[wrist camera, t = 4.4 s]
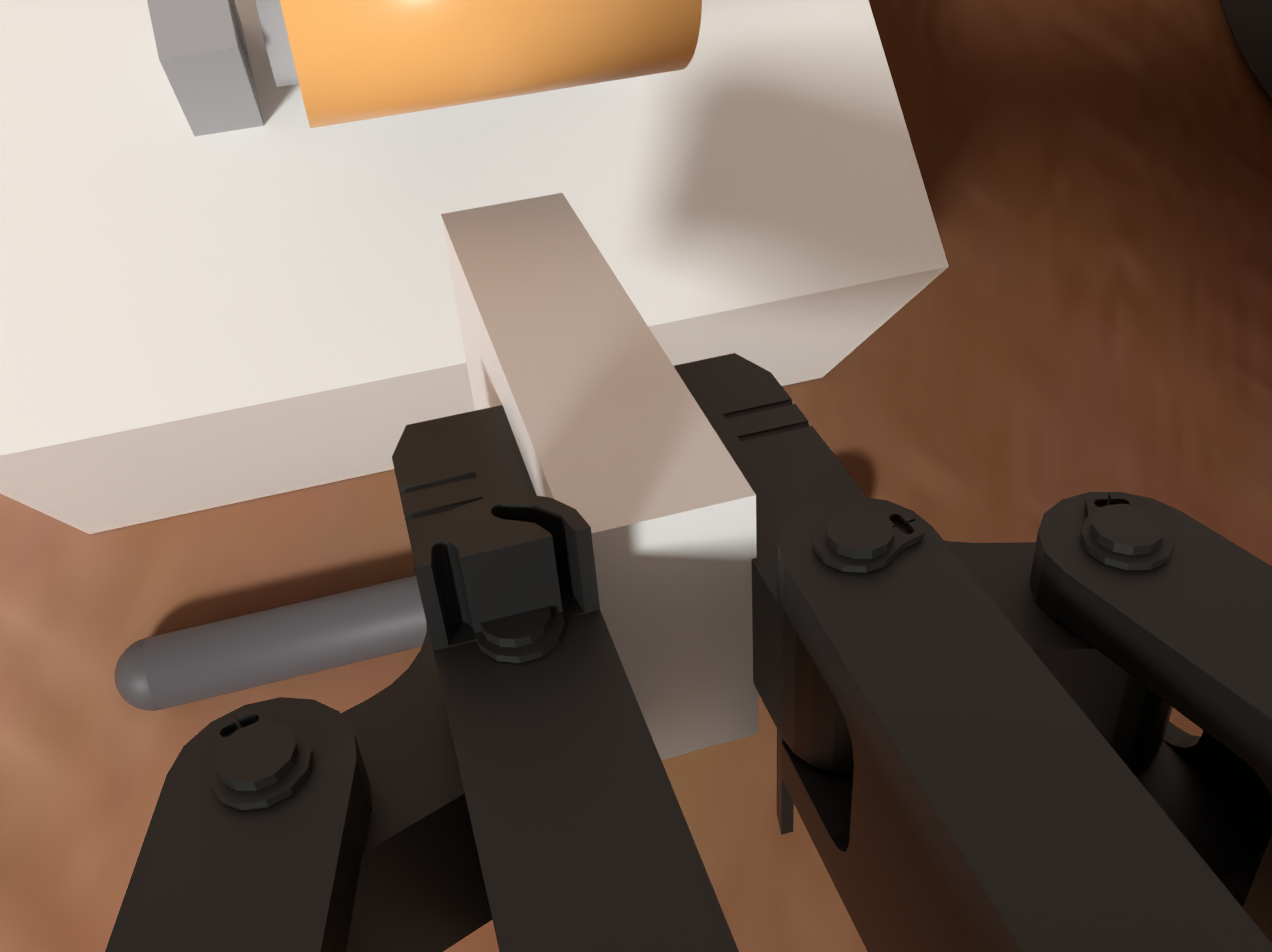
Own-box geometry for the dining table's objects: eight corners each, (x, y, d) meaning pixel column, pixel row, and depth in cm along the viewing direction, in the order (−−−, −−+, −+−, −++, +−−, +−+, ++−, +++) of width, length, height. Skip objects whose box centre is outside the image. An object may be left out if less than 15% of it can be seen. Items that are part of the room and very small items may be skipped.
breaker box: (704, -42, 32) (822, -391, 22) (867, 539, 30) (1085, 454, 20) (2, 56, 29) (-250, -303, 18) (123, 720, 26) (-87, 733, 16)
